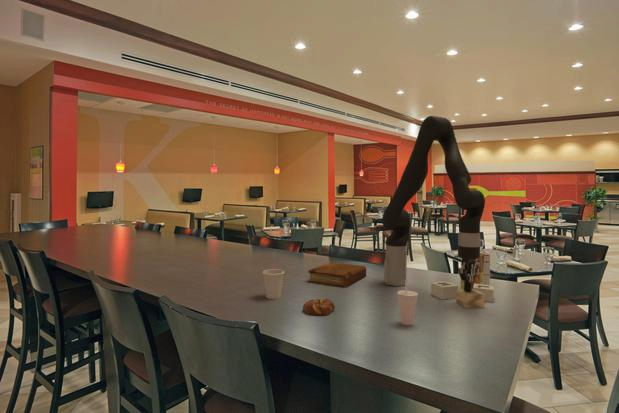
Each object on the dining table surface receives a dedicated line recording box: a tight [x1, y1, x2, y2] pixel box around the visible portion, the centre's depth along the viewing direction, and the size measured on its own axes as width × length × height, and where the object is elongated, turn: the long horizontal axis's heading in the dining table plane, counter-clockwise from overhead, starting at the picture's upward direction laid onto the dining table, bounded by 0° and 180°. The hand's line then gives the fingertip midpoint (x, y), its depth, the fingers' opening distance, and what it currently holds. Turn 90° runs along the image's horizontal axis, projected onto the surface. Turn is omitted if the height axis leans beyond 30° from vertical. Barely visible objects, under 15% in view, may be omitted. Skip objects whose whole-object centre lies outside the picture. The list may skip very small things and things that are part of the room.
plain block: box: [455, 288, 486, 309], centre depth 140 cm, size 7×7×5 cm
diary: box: [307, 261, 367, 289], centre depth 177 cm, size 23×19×6 cm
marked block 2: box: [473, 284, 495, 304], centre depth 148 cm, size 7×7×5 cm
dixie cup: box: [262, 268, 285, 300], centre depth 148 cm, size 8×8×10 cm
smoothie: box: [397, 278, 419, 326], centre depth 121 cm, size 6×6×14 cm
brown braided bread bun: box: [302, 298, 336, 316], centre depth 133 cm, size 12×11×4 cm
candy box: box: [460, 253, 484, 289], centre depth 160 cm, size 9×4×15 cm, turn 116°
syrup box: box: [480, 250, 491, 285], centre depth 169 cm, size 6×6×14 cm
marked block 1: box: [430, 281, 459, 301], centre depth 151 cm, size 7×7×5 cm
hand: (467, 291), depth 140 cm, fingers closed
